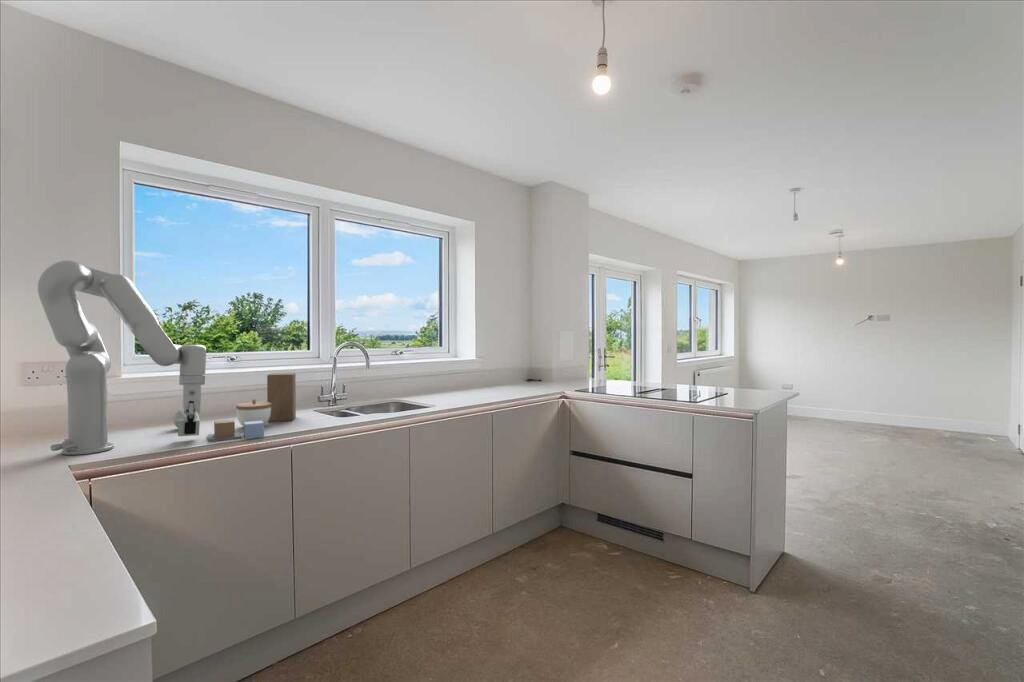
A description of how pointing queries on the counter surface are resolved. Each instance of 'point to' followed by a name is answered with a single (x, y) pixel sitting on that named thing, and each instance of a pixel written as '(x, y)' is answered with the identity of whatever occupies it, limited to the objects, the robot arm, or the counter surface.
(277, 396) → the wooden block
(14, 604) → the counter surface
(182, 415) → the die
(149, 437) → the counter surface
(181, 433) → the green brick
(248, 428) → the light blue block
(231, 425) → the tower base
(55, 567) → the counter surface
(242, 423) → the lidded bowl
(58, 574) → the counter surface
